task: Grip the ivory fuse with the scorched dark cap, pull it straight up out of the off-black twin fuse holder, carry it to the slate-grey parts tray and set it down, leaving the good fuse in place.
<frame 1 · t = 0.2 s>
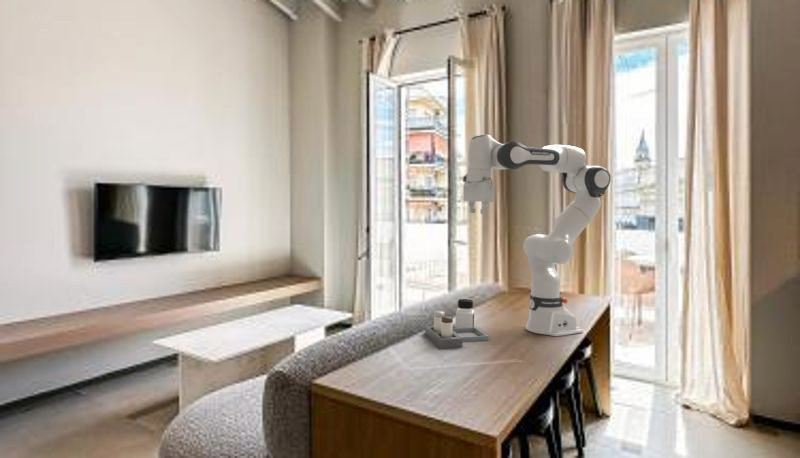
hand: (477, 213, 187), 47 cm above the table, fingers open, 8 cm apart
fuse holder: (442, 342, 179), on the table
parts tray: (468, 338, 185), on the table
blown fuse: (446, 343, 175), point 1 cm above the table, touching fuse holder
medicine bottle: (464, 328, 200), on the table
good fuse: (438, 336, 183), point 1 cm above the table, touching fuse holder
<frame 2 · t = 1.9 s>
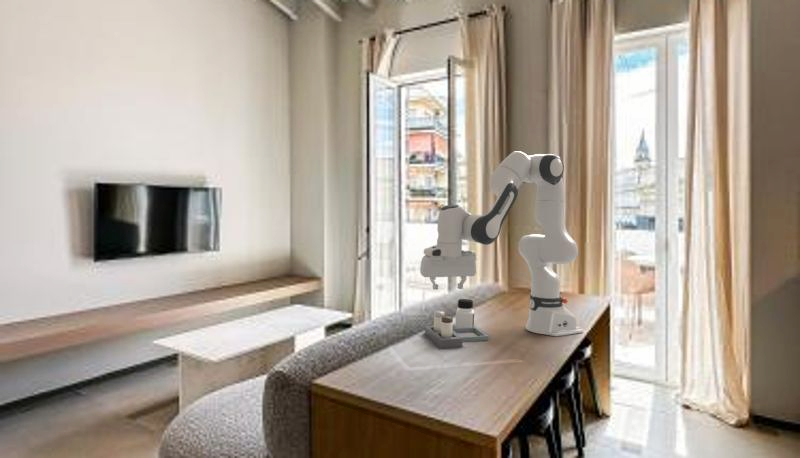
hand: (447, 289, 174), 21 cm above the table, fingers open, 8 cm apart
nothing on the table moved.
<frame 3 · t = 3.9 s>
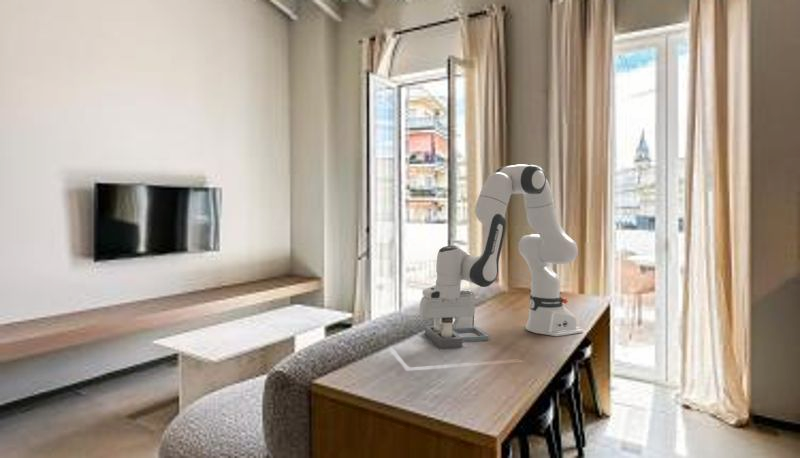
hand: (446, 329, 175), 6 cm above the table, fingers closed on blown fuse, 4 cm apart
blown fuse: (446, 343, 175), point 1 cm above the table, touching fuse holder, gripper
everything else where it was.
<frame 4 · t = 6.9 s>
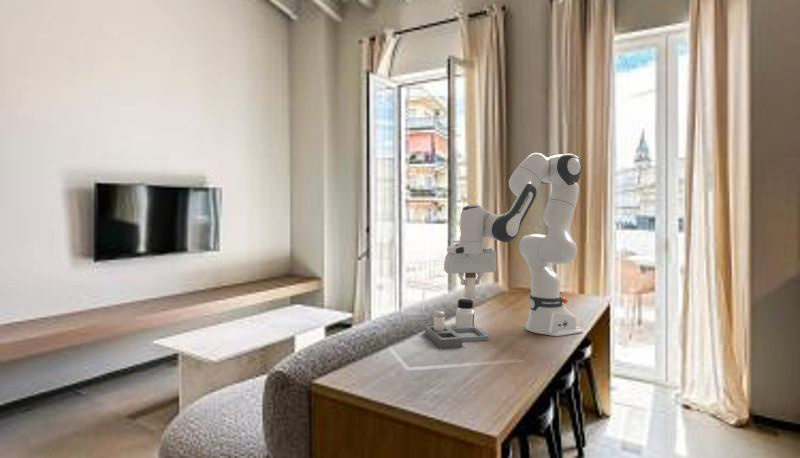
hand: (470, 284, 184), 21 cm above the table, fingers closed on blown fuse, 4 cm apart
blown fuse: (469, 297, 184), point 16 cm above the table, touching gripper
everything else where it was.
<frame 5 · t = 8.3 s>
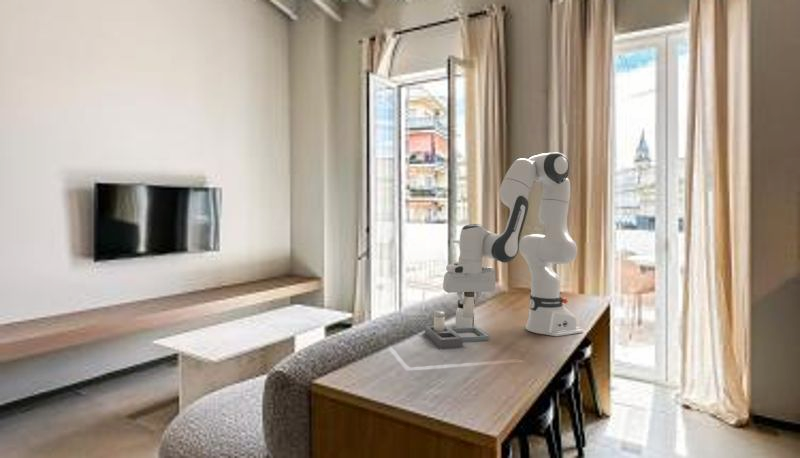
hand: (468, 303, 184), 14 cm above the table, fingers closed on blown fuse, 4 cm apart
blown fuse: (468, 316, 184), point 8 cm above the table, touching gripper
everything else where it was.
when the fingers open (7 cm above the table, at t = 9.8 s): blown fuse drops 2 cm, resting on parts tray.
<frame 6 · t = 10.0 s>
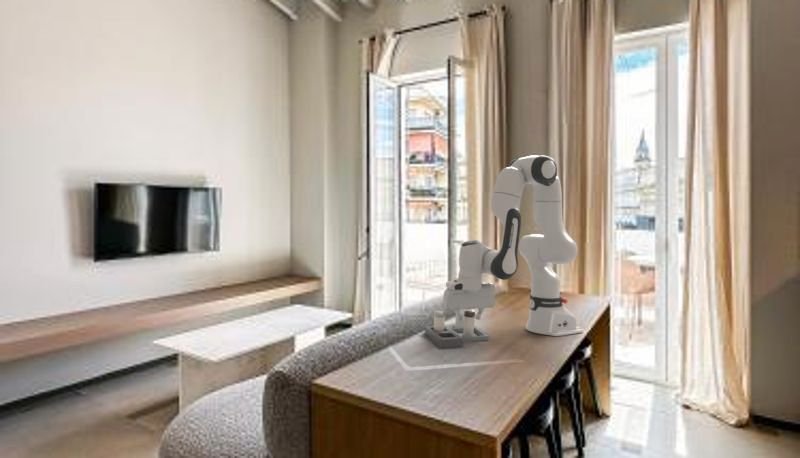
hand: (468, 319, 185), 7 cm above the table, fingers open, 6 cm apart
blown fuse: (468, 336, 185), point 1 cm above the table, touching parts tray
everything else where it was.
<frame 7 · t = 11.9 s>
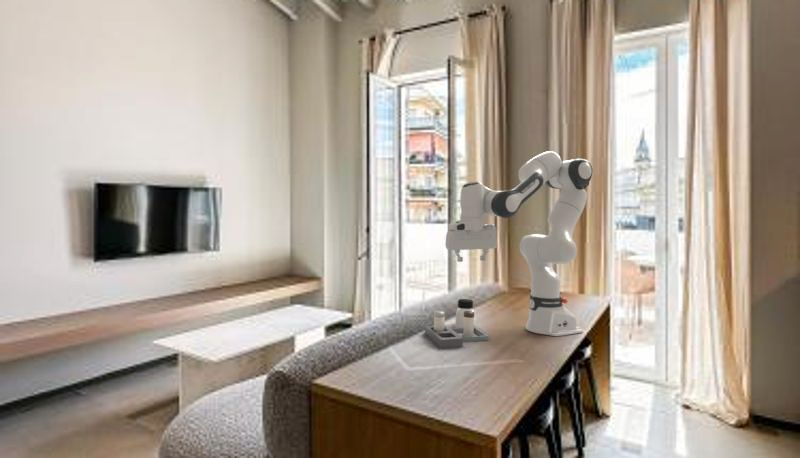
hand: (471, 261, 186), 29 cm above the table, fingers open, 8 cm apart
nothing on the table moved.
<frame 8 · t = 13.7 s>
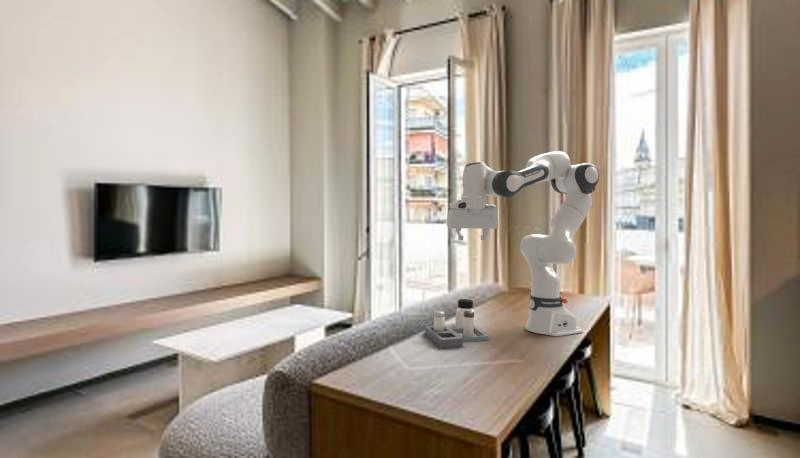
hand: (472, 240, 188), 37 cm above the table, fingers open, 8 cm apart
nothing on the table moved.
at the end: blown fuse inside the target area on the parts tray (0.0 cm from its centre), point 0.6 cm above the parts tray's base; the gripper is holding nothing; good fuse moved 0.0 cm from its start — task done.
